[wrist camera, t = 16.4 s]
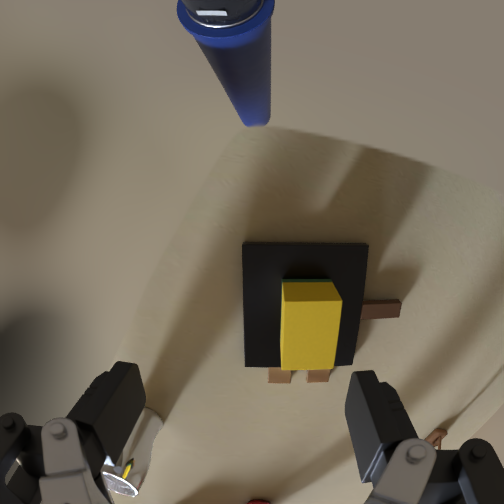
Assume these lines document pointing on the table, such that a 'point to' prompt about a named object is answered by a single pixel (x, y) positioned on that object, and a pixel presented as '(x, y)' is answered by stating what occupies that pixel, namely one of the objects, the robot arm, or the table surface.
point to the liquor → (258, 502)
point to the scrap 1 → (278, 375)
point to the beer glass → (134, 456)
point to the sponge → (309, 324)
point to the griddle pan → (304, 267)
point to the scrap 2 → (318, 375)
